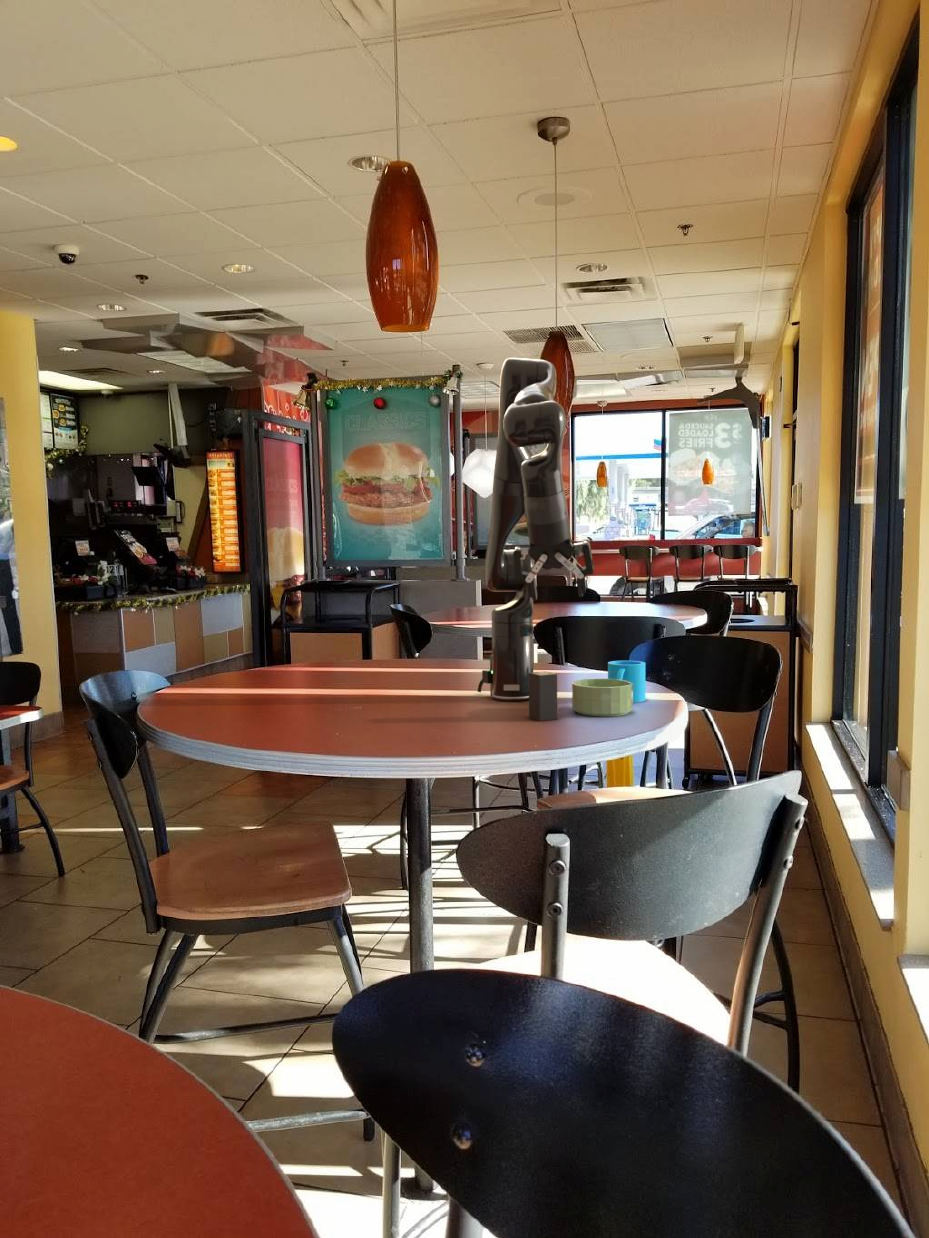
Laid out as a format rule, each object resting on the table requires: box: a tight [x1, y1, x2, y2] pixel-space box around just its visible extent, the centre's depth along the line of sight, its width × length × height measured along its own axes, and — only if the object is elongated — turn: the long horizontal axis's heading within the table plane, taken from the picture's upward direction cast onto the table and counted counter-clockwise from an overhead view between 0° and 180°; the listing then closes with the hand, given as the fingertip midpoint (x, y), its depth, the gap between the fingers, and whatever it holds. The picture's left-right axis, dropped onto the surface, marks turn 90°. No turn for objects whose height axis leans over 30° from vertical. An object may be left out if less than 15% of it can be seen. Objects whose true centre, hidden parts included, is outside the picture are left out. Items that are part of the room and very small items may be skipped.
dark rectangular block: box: [528, 671, 558, 722], centre depth 183 cm, size 4×4×9 cm
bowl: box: [571, 678, 634, 718], centre depth 190 cm, size 12×12×6 cm
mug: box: [607, 660, 646, 704], centre depth 202 cm, size 12×8×8 cm
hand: (557, 596), depth 171 cm, fingers open, 8 cm apart
